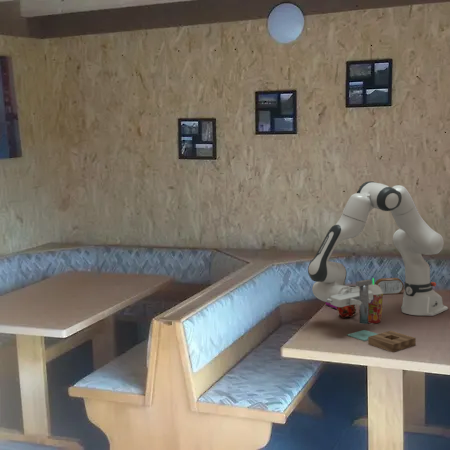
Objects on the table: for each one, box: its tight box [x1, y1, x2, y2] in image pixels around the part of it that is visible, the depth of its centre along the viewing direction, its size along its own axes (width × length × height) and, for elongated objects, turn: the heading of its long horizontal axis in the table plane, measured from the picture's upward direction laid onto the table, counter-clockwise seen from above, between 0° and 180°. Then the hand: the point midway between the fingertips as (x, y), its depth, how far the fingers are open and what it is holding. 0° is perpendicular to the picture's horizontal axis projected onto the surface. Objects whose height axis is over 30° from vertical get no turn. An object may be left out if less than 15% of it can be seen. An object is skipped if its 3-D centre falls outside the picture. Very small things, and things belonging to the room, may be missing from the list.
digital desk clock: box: [374, 277, 404, 296], centre depth 346 cm, size 15×3×8 cm, turn 93°
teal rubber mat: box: [346, 329, 378, 342], centre depth 278 cm, size 10×10×1 cm
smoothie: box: [368, 277, 384, 324], centre depth 296 cm, size 8×8×20 cm
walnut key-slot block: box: [367, 330, 417, 353], centre depth 265 cm, size 13×13×3 cm
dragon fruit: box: [336, 304, 357, 319], centre depth 307 cm, size 8×8×12 cm
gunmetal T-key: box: [355, 278, 373, 325], centre depth 276 cm, size 7×4×18 cm, turn 124°
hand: (365, 301), depth 275 cm, fingers closed on gunmetal T-key, 4 cm apart
